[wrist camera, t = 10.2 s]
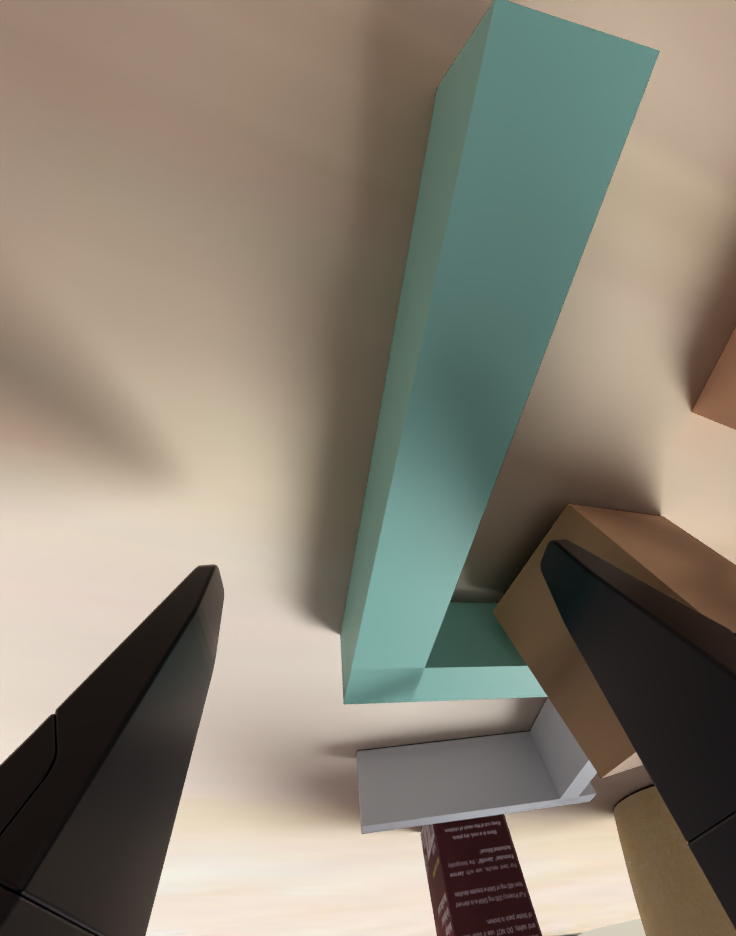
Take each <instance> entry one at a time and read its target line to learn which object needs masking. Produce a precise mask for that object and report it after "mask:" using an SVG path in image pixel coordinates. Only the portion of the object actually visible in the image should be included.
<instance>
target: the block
mask: <svg viewBox="0 0 736 936" xmlns="http://www.w3.org/2000/svg"><path fill="white" fill-rule="evenodd" d="M556 539H566V540H569V541H571V542H573V543H574V544H576V545H578V546H580V547H582V548H583V549H585V550H587V551H589V552H591V553H592V554H594V555H596V556H598V557H600V558H602V559H603V560H605V561H607V562H609V563H611V564H612V565H614V566H616V567H618V568H620V569H622V570H623V571H625V572H627V573H629V574H631V575H632V576H634V577H636V578H638V579H640V580H641V581H643V582H645V583H647V584H649V585H651V586H652V587H654V588H656V589H658V590H660V591H661V592H663V593H665V594H667V595H669V596H671V597H672V598H674V599H676V600H678V601H680V602H681V603H683V604H685V605H687V606H689V607H691V608H692V609H694V610H696V611H698V612H700V613H701V614H703V615H705V616H707V617H709V618H710V619H712V620H714V621H716V622H718V623H720V624H721V625H723V626H725V627H727V628H729V629H730V630H731V631H732V632H736V565H735V564H733V563H732V562H730V561H729V560H727V559H726V558H724V557H723V556H721V555H720V554H718V553H717V552H715V551H714V550H712V549H711V548H709V547H708V546H706V545H705V544H703V543H702V542H700V541H699V540H697V539H696V538H694V537H693V536H691V535H690V534H689V533H687V532H686V531H684V530H683V529H681V528H680V527H678V526H677V525H675V524H674V523H672V522H671V521H669V520H668V519H666V518H665V517H663V516H656V515H648V514H641V513H634V512H626V511H619V510H612V509H604V508H597V507H590V506H582V505H575V504H568V505H567V506H566V508H565V509H564V510H563V512H562V513H561V515H560V516H559V517H558V519H557V520H556V522H555V523H554V525H553V526H552V527H551V529H550V530H549V532H548V533H547V535H546V536H545V537H544V539H543V540H542V542H541V543H540V545H539V546H538V547H537V549H536V550H535V552H534V553H533V554H532V556H531V557H530V559H529V560H528V562H527V563H526V564H525V566H524V567H523V569H522V570H521V572H520V573H519V574H518V576H517V577H516V579H515V580H514V581H513V583H512V584H511V586H510V587H509V589H508V590H507V591H506V593H505V594H504V596H503V597H502V599H501V600H500V601H499V603H498V604H497V606H496V607H495V608H494V610H493V611H492V612H493V614H494V615H495V617H496V618H497V620H498V621H499V623H500V625H501V626H502V628H503V629H504V631H505V632H506V634H507V635H508V637H509V638H510V640H511V641H512V643H513V644H514V646H515V647H516V649H517V651H518V652H519V654H520V655H521V657H522V658H523V660H524V661H525V663H526V664H527V666H528V667H529V669H530V670H531V672H532V674H533V675H534V677H535V678H536V680H537V681H538V683H539V684H540V686H541V687H542V689H543V690H544V692H545V693H546V695H547V696H548V698H549V700H550V701H551V703H552V704H553V706H554V707H555V709H556V710H557V712H558V713H559V715H560V716H561V718H562V719H563V721H564V723H565V724H566V726H567V727H568V729H569V730H570V732H571V733H572V735H573V736H574V738H575V739H576V741H577V742H578V744H579V745H580V747H581V749H582V750H583V752H584V753H585V755H586V756H587V758H588V759H589V761H590V762H591V764H592V765H593V767H594V768H595V770H596V771H597V773H598V775H599V776H600V778H604V777H608V776H611V775H614V774H617V773H620V772H623V771H626V770H629V769H632V768H635V767H638V766H641V765H643V764H642V762H641V760H640V758H639V756H638V755H637V753H636V751H635V749H634V748H633V746H632V744H631V742H630V740H629V739H628V737H627V735H626V733H625V731H624V730H623V728H622V726H621V724H620V723H619V721H618V719H617V717H616V715H615V714H614V712H613V710H612V708H611V707H610V705H609V703H608V701H607V699H606V698H605V696H604V694H603V692H602V690H601V689H600V687H599V685H598V683H597V682H596V680H595V678H594V676H593V674H592V673H591V671H590V669H589V667H588V666H587V664H586V662H585V660H584V658H583V657H582V655H581V653H580V651H579V649H578V648H577V646H576V644H575V642H574V641H573V639H572V637H571V635H570V633H569V631H568V630H567V628H566V626H565V624H564V622H563V620H562V617H561V615H560V613H559V611H558V608H557V606H556V604H555V602H554V599H553V597H552V595H551V593H550V590H549V588H548V586H547V584H546V581H545V579H544V577H543V574H542V572H541V569H540V562H541V559H542V556H543V554H544V551H545V548H546V546H547V544H548V542H549V541H550V540H556Z"/></svg>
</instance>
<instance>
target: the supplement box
mask: <svg viewBox="0 0 736 936" xmlns="http://www.w3.org/2000/svg"><path fill="white" fill-rule="evenodd" d="M421 841H422V847H423V853H424V860H425V866H426V872H427V878H428V884H429V890H430V896H431V902H432V908H433V914H434V920H435V926H436V932H437V936H542V933H541V930H540V927H539V924H538V921H537V918H536V915H535V911H534V908H533V905H532V902H531V899H530V896H529V893H528V889H527V886H526V883H525V880H524V877H523V873H522V870H521V867H520V864H519V861H518V857H517V854H516V851H515V848H514V845H513V841H512V838H511V835H510V831H509V828H508V825H507V822H506V819H505V816H504V814H500V815H493V816H486V817H479V818H472V819H465V820H458V821H450V822H443V823H436V824H429V825H423V826H422V831H421Z"/></svg>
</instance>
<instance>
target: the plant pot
mask: <svg viewBox="0 0 736 936" xmlns="http://www.w3.org/2000/svg"><path fill="white" fill-rule="evenodd" d="M614 816H615V821H616V825H617V830H618V834H619V838H620V842H621V846H622V850H623V854H624V858H625V862H626V866H627V870H628V874H629V878H630V882H631V885H632V889H633V892H634V896H635V900H636V903H637V907H638V910H639V914H640V917H641V920H642V924H643V927H644V930H645V934H646V936H736V930H735V928H734V926H733V925H732V923H731V921H730V919H729V917H728V916H727V914H726V912H725V910H724V909H723V907H722V905H721V903H720V901H719V900H718V898H717V896H716V894H715V892H714V891H713V889H712V887H711V885H710V884H709V882H708V880H707V878H706V876H705V875H704V873H703V871H702V869H701V868H700V866H699V864H698V862H697V860H696V859H695V857H694V855H693V853H692V852H691V850H690V848H689V846H688V842H687V841H686V840H685V839H684V837H683V835H682V833H681V831H680V830H679V828H678V826H677V824H676V822H675V821H674V819H673V817H672V815H671V814H670V812H669V810H668V808H667V806H666V805H665V803H664V801H663V799H662V797H661V796H660V794H659V792H658V790H657V789H656V787H655V786H653V787H650V788H647V789H644V790H641V791H639V792H637V793H635V794H632V795H631V796H629V797H627V798H625V799H624V800H622V801H621V802H620V803H618V804H617V806H616V807H615V808H614Z"/></svg>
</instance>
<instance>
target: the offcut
mask: <svg viewBox="0 0 736 936" xmlns="http://www.w3.org/2000/svg"><path fill="white" fill-rule="evenodd" d="M692 412H693V413H695V414H698V415H700V416H703V417H705V418H708V419H710V420H713V421H715V422H718V423H721V424H723V425H726V426H728V427H731V428H733V429H736V327H735V329H734V331H733V333H732V335H731V337H730V339H729V341H728V343H727V345H726V347H725V349H724V350H723V352H722V354H721V356H720V358H719V360H718V362H717V364H716V366H715V368H714V370H713V372H712V373H711V375H710V377H709V379H708V381H707V383H706V385H705V387H704V389H703V391H702V393H701V395H700V396H699V398H698V400H697V402H696V404H695V406H694V408H693V410H692Z"/></svg>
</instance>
